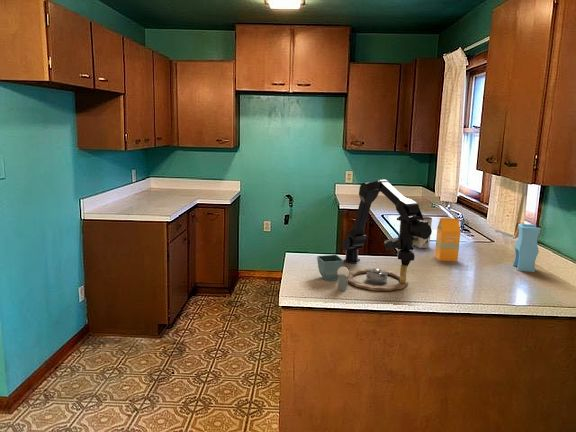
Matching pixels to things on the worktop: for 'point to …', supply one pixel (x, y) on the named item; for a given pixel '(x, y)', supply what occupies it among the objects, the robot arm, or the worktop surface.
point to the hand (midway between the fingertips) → (403, 270)
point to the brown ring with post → (400, 285)
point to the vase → (526, 247)
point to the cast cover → (376, 276)
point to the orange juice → (447, 239)
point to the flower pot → (329, 266)
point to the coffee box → (419, 241)
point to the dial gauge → (342, 278)
